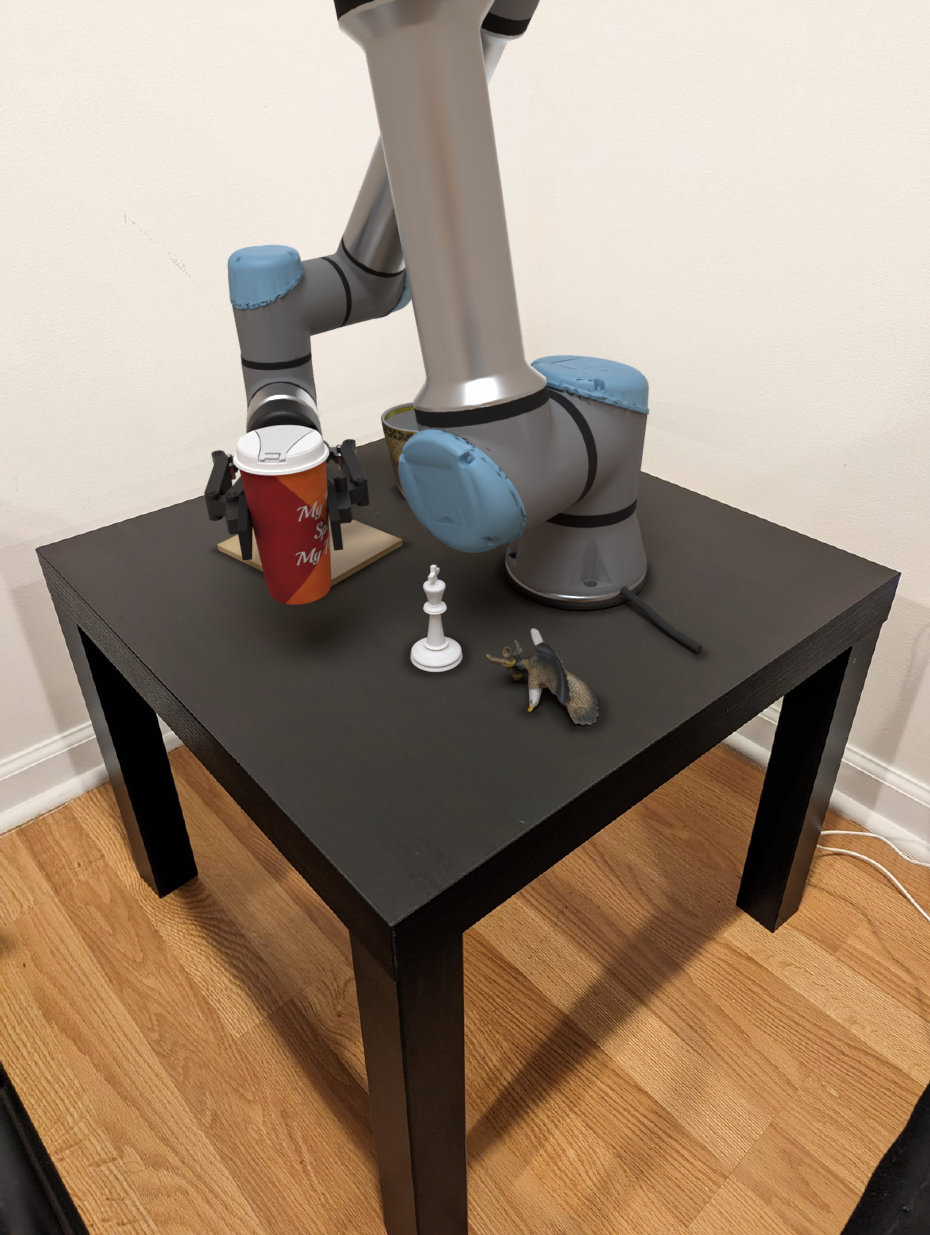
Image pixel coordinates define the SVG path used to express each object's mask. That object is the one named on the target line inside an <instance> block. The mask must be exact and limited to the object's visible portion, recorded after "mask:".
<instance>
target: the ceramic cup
mask: <svg viewBox="0 0 930 1235" xmlns="http://www.w3.org/2000/svg"><path fill="white" fill-rule="evenodd" d="M380 422H381V427H382V432H383V436H384V439H385V443H386V446H387V449H388V452H389V457H390V461H391V465H392V469H393V473H394V478H395V482H396V486H397V489H398V490H399V492H400V494H401V495H402V496H403V498H405V495H404V493H403V490H402V487H401V483H400V478H399V469H398V467H399V457H400V455H401V454H403V452H402V450H403V447H404V445H405V444H406V442H407V441H408V440H409V439H410V438H411V437H412V436H413V435H414V434H415V433H417V432H419V431H418V426H417V421H416V416H415V411H414V406H413V401H412V402H406V403H400V404H397V405H393V406H391V407H389V408H388V409H386V410H385V411H384V412H383V413H382V414H381V416H380Z"/></svg>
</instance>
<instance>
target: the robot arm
mask: <svg viewBox="0 0 930 1235" xmlns="http://www.w3.org/2000/svg"><path fill="white" fill-rule="evenodd" d="M332 1H333V4H334V10H335V15H336V20H337V25H338V29H339V31H340V32H341V33H343V34H344V35H345V36H346V37H348V38H349V39H350V40H351V41H353V43H354V44H356V45H358V46H359V48H360V49H361V50H362V52H363V53H364V55H365V61H366V66H367V72H368V77H369V82H370V86H371V92H372V97H373V103H374V108H375V113H376V119H377V123H378V124H377V125H378V130H379V134H378V135H377V136H378V137H377V139H376V142H375V144H374V147H373V150H372V153H371V156H370V159H369V161H368V165H367V167H366V170H365V173H364V175H363V178H362V181H361V184H360V186H359V188H358V192H357V195H356V197H355V200H354V203H353V205H352V208H351V211H350V214H349V217H348V220H347V222H346V225H345V228H344V231H343V234H342V236H341V238H340V240H339V243H338V246H337V249H336V251H335V252H334V253H332V254H328V255H323V256H319V257H314V258H310V259H304V260H302V258H301V255H300V253H299V250H297V249H296V248H295V247H292V246H288V245H283V244H263V245H252V246H246V247H241V248H239V249H237V250H234V251H233V252H232V253H231V254H230V256H229V257H228V260H227V282H228V293H229V301H230V304H231V308H232V313H233V318H234V323H235V329H236V335H237V339H238V345H239V350H240V364H241V371H242V377H243V378H242V379H243V384H244V391H245V397H246V422H245V427H246V430H245V431H246V432H245V434H247V433H249V432H251V431H255V430H257V429H261V428H265V427H271V426H279V425H296V426H304V427H307V428H311V429H314V430H316V431H317V432H319V433H320V435H321V436H322V439H323V442H324V443H325V444H326V446H327V447H328V449H329V456H328V457H327V459H326V474H327V493H328V496H327V500H328V513H329V520H330V527H331V533H332V540H333V547H334V551H336V550H343V542H342V532H341V524H343V523H351V522H352V520H354V519H353V510H352V509H353V508H352V506H353V505H356V506H357V507H366V506H368V505H369V504H370V495H369V485H368V484H369V483H368V477H367V475H366V472H365V470H364V469H363V467H362V464H361V462H360V460H359V458H358V452H357V443H356V442H357V441H356V439H353V438H352V439H351V438H347V439H344V440H343V441H342V443H341V444H336V446H330V444H329V443H328V441H326V440H324V436H323V432H322V431H323V430H322V426H321V418H320V413H319V410H318V409H319V408H318V399H317V398H318V397H317V389H316V382H315V375H314V367H313V354H312V340H311V337H312V336H316V335H320V334H324V333H327V332H330V331H333V330H338V329H341V328H344V327H349V326H353V325H356V324H359V323H363V322H368V321H371V320H377V319H382V318H385V317H388V316H389V315H391V314H392V313H395V312H398V311H400V310H403V309H404V308H405V307H407V306H408V305H409V304H410V303H411V304H412V309H413V310H412V311H413V316H414V320H415V325H416V330H417V336H418V341H419V347H420V352H421V357H422V362H423V367H424V373H425V380H424V383H423V385H422V386H421V388H420V389H419V391H418V392H417V393H416V395H415V397H414V399H413V400H412V402H413V406H414V411H415V416H416V421H417V426H418V431H419V432H417V433H415V434H414V435H413V436H412V437H411V438H410V439H409V440H408V441H407V442H406V444H405V445H404V447H403V450H402V452H403V454H401V455H400V457H399V467H398V469H399V478H400V483H401V487H402V490H403V493H404V495H405V497H404V498H405V500H406V503H407V504H408V506H409V508H410V510H411V512H412V514H414V516H415V517H416V518H417V520H418V522H419V523H420V524H421V525H422V526H423V527H424V528H426V529H427V530H428V532H430V534H431V535H432V536H433V537H434V538H435V539H437V540H438V541H439V542H441V543H443V544H444V545H446V546H447V547H449V548H451V549H454V550H456V551H459V552H463V553H468V554H482V553H485V552H490V551H491V550H493V549H496V548H497V547H501V546H502V545H507V544H508V545H507V549H506V552H505V557H504V558H505V559H504V560H505V561H504V573H505V577H506V580H507V581H508V583H509V584H510V585H511V587H512V588H513V589H514V590H515V591H516V592H518V593H519V594H521V595H522V596H524V597H526V598H528V599H529V600H530V601H534V602H536V603H538V604H541V605H545V606H549V607H553V608H557V609H564V610H573V611H574V610H575V611H577V610H578V611H584V610H585V611H587V610H590V611H591V610H599V609H600V610H601V609H605V608H609V607H614V606H617V605H619V604H622V603H625V602H626V601H629V602H630V603H631V604H633V605H634V606H635V607H636V608H637V609H638V610H640V611H641V612H642V613H643V614H644V615H645V616H646V617H647V618H649V619H650V620H651V621H652V622H653V623H654V624H655V625H656V626H657V627H658V628H659V629H661V630H662V631H663V632H665V633H666V634H667V635H669V636H670V637H671V638H673V639H674V640H676V641H678V642H679V643H681V644H682V645H684V646H685V647H687V648H689V649H691V650H692V651H693V652H695V653H697V654H699V653H700V652H701V651H702V649H703V645H702V644H700V643H698V642H697V641H695V640H694V639H692V638H690V637H689V636H688V635H685V634H684V633H682V632H680V631H679V630H678V629H676V628H675V627H674V626H672V625H671V624H670V623H668V622H667V621H666V620H665V619H663V618H662V617H661V616H660V615H659V614H658V613H657V612H656V611H655V610H654V609H653V608H651V607H650V606H649V605H648V604H647V603H646V602H645V601H643V600H642V599H641V598H640V597H638V595H637V594H639V592H640V591H641V590H642V589H643V587H644V586H645V583H646V578H647V570H648V561H647V560H648V559H647V554H646V550H645V547H644V542H643V538H642V533H641V528H640V525H639V519H638V516H637V505H638V495H639V488H640V480H641V472H642V471H641V470H642V463H643V455H644V447H645V439H646V431H647V423H648V415H649V414H650V408H649V393H650V392H649V391H650V385H649V384H650V383H649V381H648V379H647V377H646V376H645V375H644V374H643V373H642V372H641V371H640V370H639V369H638V368H635V367H633V366H631V365H628V364H626V363H622V362H619V361H615V360H611V359H608V358H607V359H606V358H601V357H594V356H586V355H574V354H573V355H571V354H556V355H547V356H541V357H539V358H535V359H534V360H533V361H531V362H530V364H529V363H528V361H527V359H526V351H525V345H524V344H525V343H524V338H523V329H522V322H521V315H520V309H519V301H518V294H517V287H516V280H515V279H516V278H515V271H514V265H513V259H512V250H511V244H510V237H509V229H508V221H507V214H506V208H505V200H504V194H503V187H502V186H503V185H502V180H501V172H500V165H499V158H498V150H497V143H496V134H495V129H494V121H493V114H492V108H491V107H492V106H491V101H490V94H489V84H490V82H491V79H492V77H493V75H494V73H495V70H496V69H497V66H498V65H499V62H500V60H501V57H502V55H503V53H504V51H505V49H506V47H507V44H508V42H511V41H514V40H517V39H520V38H522V37H523V36H524V35H525V34H526V31H527V30H528V27H529V24H530V23H531V20H532V18H533V16H534V15H535V12H536V10H537V8H538V6H539V3H540V1H541V0H332ZM210 455H211V459H212V464H213V466H212V469H211V472H210V474H209V477H208V481H207V484H206V486H205V489H204V492H203V494H204V495H203V496H204V500H205V505H206V509H207V515H208V520H210V521H211V522H216V521H217V522H218V521H221V520H222V519H223V518H224V519H225V524H226V529H227V533H228V534H229V535H231V536H232V535H238V537H239V543H240V548H241V554H242V559H243V561H244V560H252V544H253V526H252V522H251V518H250V513H249V509H248V504H247V500H246V496H245V492H244V488H243V483H242V479H241V475H240V476H239V477H238V479H237V474H236V473H239V471H240V470H239V468H238V467H236V465H235V464H234V462H233V458H234V455H233V454H231V453H226V452H225V451H224V450H222V449H218V450H214V451H212V452H211V454H210ZM330 461H333V462H334V464H336V465H337V468H338V470H339V471H342V474H339V473H338V472H336V471H335V470H334V469H333V468H332V467H331V466H329V463H330ZM236 479H237V480H236ZM234 480H236V481H235V482H234V483H233V481H234Z"/></svg>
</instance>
